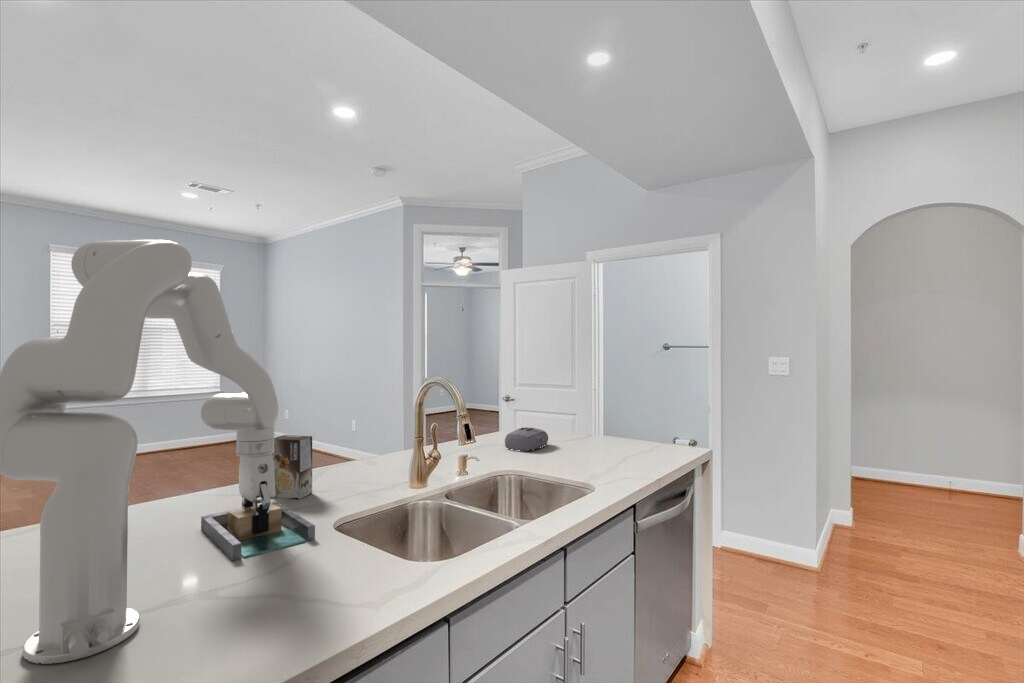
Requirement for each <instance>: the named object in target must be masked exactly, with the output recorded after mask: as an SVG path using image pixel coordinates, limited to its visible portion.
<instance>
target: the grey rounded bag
mask: <svg viewBox="0 0 1024 683" xmlns="http://www.w3.org/2000/svg"><path fill="white" fill-rule="evenodd" d="M548 442H549V435H548V432H546V431H544V430H543V429H540V428H535V427H528V426H527V427H521V428H517V429H514V430H513V431H511V432H509V433H507V434H506V436H505V438H504V445H505V448H506V449H507V448H508V449H507V450H509V449H513V450H520V451H526V452H530V451H529V450H533V449H537V448H540V447H542V446H544V445H546V444H547V445H548ZM547 445H546V446H547ZM544 447H545V446H544ZM513 450H512V451H513ZM520 451H519V452H520Z"/></svg>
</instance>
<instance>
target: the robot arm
mask: <svg viewBox="0 0 1024 683" xmlns="http://www.w3.org/2000/svg"><path fill="white" fill-rule="evenodd" d="M192 262H193V260H192V256H191V253H190V252H189V250H188V249H187V248H186V247H184V246H183V245H182V244H181V243H178V242H175V241H171V240H166V239H165V240H164V239H130V240H129V239H128V240H97V241H90V242H87V243H85V244H83V245H81V246H80V247H78V248H77V249H76V250H75V252H74V253H73V256H72V258H71V264H70V266H71V270H72V273H73V275H74V278H75V279H76V280H77V282H78V283H79V284H80V286H82V288H81V290H80V291H79V293H78V295H77V297H76V299H75V301H74V305H73V309H72V314H71V316H70V320H69V324H68V329H67V332H66V334H65V336H63V337H40V338H36V339H31V340H28V341H26V342H25V343H23V344H21V345H19V346H18V347H17V348H15V349H14V350H13V351H12V352H11V353H10V355H9V356H7V359H6V360H5V361H4V363H3V366H2V368H1V371H0V476H2V477H5V478H7V479H10V480H19V481H44V482H45V481H46V482H56V486H55V488H54V490H53V492H52V494H51V496H50V497H49V498H48V500H47V502H46V503H45V506H44V508H43V510H42V513H41V517H40V523H39V525H40V526H39V535H40V536H39V541H40V542H39V595H38V596H39V603H38V604H39V607H38V609H39V611H38V616H39V618H38V631H36V632H35V633H33V634H32V635H30V636H29V638H28V639H26V641H25V642H24V644H23V646H22V655H23V658H24V659H25V660H26V659H27V660H28V661H27V660H26V661H27V662H29V663H34V664H39V663H41V664H40V665H50V664H51V665H52V664H53V663H54V664H61V663H65V662H67V663H68V662H72V661H75V660H79V659H80V660H81V659H83V658H88V657H91V656H93V655H96V654H98V653H101V652H104V651H106V650H108V649H110V648H113V647H114V646H117V645H118V644H120V643H122V642H123V641H125V640H127V639H128V638H129V637H130V636H132V635H133V634H134V633H135V632H136V631H137V630H138V628H139V626H140V621H141V620H140V613H139V612H138V611H136V610H135V609H133V608H128V606H127V605H128V604H127V602H128V595H127V594H128V536H129V535H128V534H129V532H128V530H129V528H128V525H129V524H128V523H129V522H128V520H129V491H130V483H131V477H132V472H133V467H134V464H135V460H136V456H137V451H138V435H137V431H136V429H135V428H134V426H133V425H132V424H130V422H128V421H127V420H125V419H124V418H122V417H120V416H117V415H113V414H108V413H102V412H79V411H78V412H74V411H71V412H69V411H68V412H67V411H66V407H67V404H100V403H101V404H102V403H110V402H111V403H112V402H115V401H119V400H121V399H124V397H126V396H127V395H128V394H129V393H130V391H131V390H132V387H133V385H134V383H135V378H136V372H137V369H138V368H137V367H138V361H139V356H140V348H141V342H142V336H143V329H144V325H145V320H146V318H147V319H172V320H173V322H174V324H175V327H176V328H177V331H178V334H179V336H180V339H181V342H182V345H183V347H184V350H185V352H186V356H187V358H188V359H189V360H190V361H191V362H192V363H194V364H195V365H197V366H198V367H202V368H203V369H205V370H208V371H209V372H213V373H215V374H218V375H220V376H222V377H224V378H227V379H228V380H229V381H231V382H234V383H235V384H237V386H239V388H241V389H242V391H243V392H238V393H231V392H229V393H228V392H225V393H224V392H223V393H217V394H214V395H212V396H210V397H209V398H207V399H206V400H204V403H203V404H202V406H201V409H200V418H201V421H202V422H203V423H204V425H205V426H207V427H209V428H210V429H211V428H212V429H213V430H220V431H236V448H235V449H236V450H235V451H236V452H235V453H236V456H237V457H239V465H238V468H239V469H238V491H239V494H240V495H241V498H242V499H241V508H242V509H243V508H247V507H252V506H253V509H254V515H252V533H253V534H259V533H263V532H267V531H268V530H269V507H270V503H271V500H273V499H275V498H274V497H275V472H274V461H273V455H272V453H274V438H275V424H276V422H277V420H278V416H279V402H278V398H277V397H278V396H277V395H276V390H275V387H274V384H273V381H272V379H271V377H270V375H269V374H268V372H267V371H266V369H265V368H264V367H263V366H262V365H261V364H260V363H259V362H258V361H257V360H256V359H255V358H254V357H252V356H251V355H250V354H249V353H248V352H247V351H245V350H244V349H242V348H241V347H240V346H239V345H238V343H237V341H236V338H235V334H234V332H233V330H232V329H233V328H232V327H231V323H230V319H229V316H228V313H227V310H226V308H225V303H224V301H223V298H222V295H221V291H220V289H219V287H218V285H217V283H216V281H215V280H214V279H213V278H211V277H210V276H208V275H206V274H202V273H198V272H191V271H192V265H193V263H192ZM258 498H259V499H258ZM260 498H261V499H260ZM258 505H259V507H258ZM54 664H53V665H54Z"/></svg>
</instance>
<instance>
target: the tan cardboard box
mask: <svg viewBox="0 0 1024 683" xmlns="http://www.w3.org/2000/svg"><path fill="white" fill-rule="evenodd" d="M257 505H258V507H259V505H260V504H257ZM242 508H243V509H240V508H237V509H238V510H235V509H233V510H234V511H230V510H228V511H229V512H228V527H227V531H228V532H229V533H230V534H231V535H232V536H234V537H235V538H236V539H237V540H238V541H241V540H245V539H249V538H253V537H257V536H262V535H266V534H270V533H274V532H278V531H282V524H281V516H282V508H280V507H278V506H276V505H274V504H272V503H270V507H269V530H268V531H267V532H263V533H259V534H253V533H252V515H254V509H253V506H252V507H247V508H244V507H242Z"/></svg>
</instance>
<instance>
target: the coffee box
mask: <svg viewBox="0 0 1024 683" xmlns="http://www.w3.org/2000/svg"><path fill="white" fill-rule="evenodd" d="M272 455H273V461H274V472H275V497H280V498H279V499H292V498H298V499H297V500H302V499H303V497H304V498H305V496H306V497H307V495H308V496H310V495H311V494H310V493H312V494H313V436H312V435H292V434H291V435H290V434H284V435H279V436H276V437H274V453H272ZM309 494H310V495H309ZM301 498H302V499H301Z"/></svg>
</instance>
